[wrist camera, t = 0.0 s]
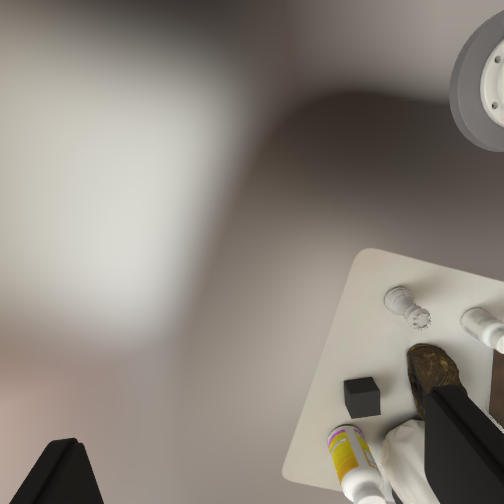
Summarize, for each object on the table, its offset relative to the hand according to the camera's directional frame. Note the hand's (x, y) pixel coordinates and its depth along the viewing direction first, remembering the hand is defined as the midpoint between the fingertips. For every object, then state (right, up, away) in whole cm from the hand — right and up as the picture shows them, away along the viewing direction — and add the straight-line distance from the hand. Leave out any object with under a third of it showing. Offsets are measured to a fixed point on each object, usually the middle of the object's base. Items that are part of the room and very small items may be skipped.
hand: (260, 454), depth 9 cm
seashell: (+31, -17, +51) cm, 62 cm away
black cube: (+19, -19, +51) cm, 57 cm away
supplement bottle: (+17, -29, +54) cm, 63 cm away
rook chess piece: (+23, -2, +46) cm, 52 cm away
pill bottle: (+37, -6, +48) cm, 61 cm away
